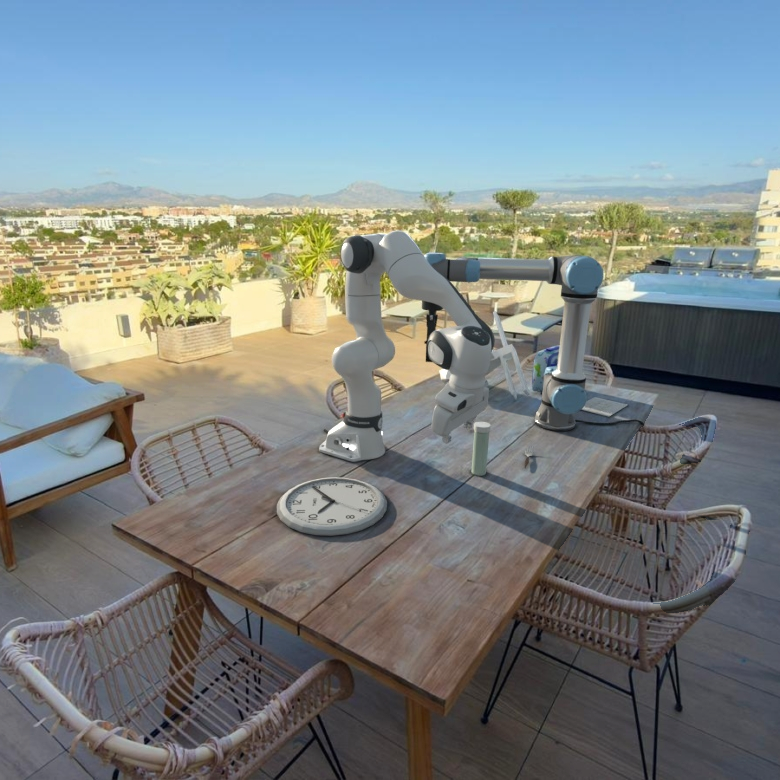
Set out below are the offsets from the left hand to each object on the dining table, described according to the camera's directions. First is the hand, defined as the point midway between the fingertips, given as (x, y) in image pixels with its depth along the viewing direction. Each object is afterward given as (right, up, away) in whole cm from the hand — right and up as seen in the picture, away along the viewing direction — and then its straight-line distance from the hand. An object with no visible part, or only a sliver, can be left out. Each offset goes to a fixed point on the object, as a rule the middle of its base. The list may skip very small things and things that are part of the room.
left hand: (457, 434), depth 138 cm
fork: (+28, -12, +35) cm, 46 cm away
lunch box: (+59, +11, +110) cm, 125 cm away
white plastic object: (+24, +11, +105) cm, 108 cm away
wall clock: (-34, -20, +5) cm, 39 cm away
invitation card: (+74, +4, +88) cm, 115 cm away
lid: (+10, +1, +21) cm, 23 cm away
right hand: (-3, +24, +51) cm, 57 cm away
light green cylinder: (+10, -14, +25) cm, 31 cm away
